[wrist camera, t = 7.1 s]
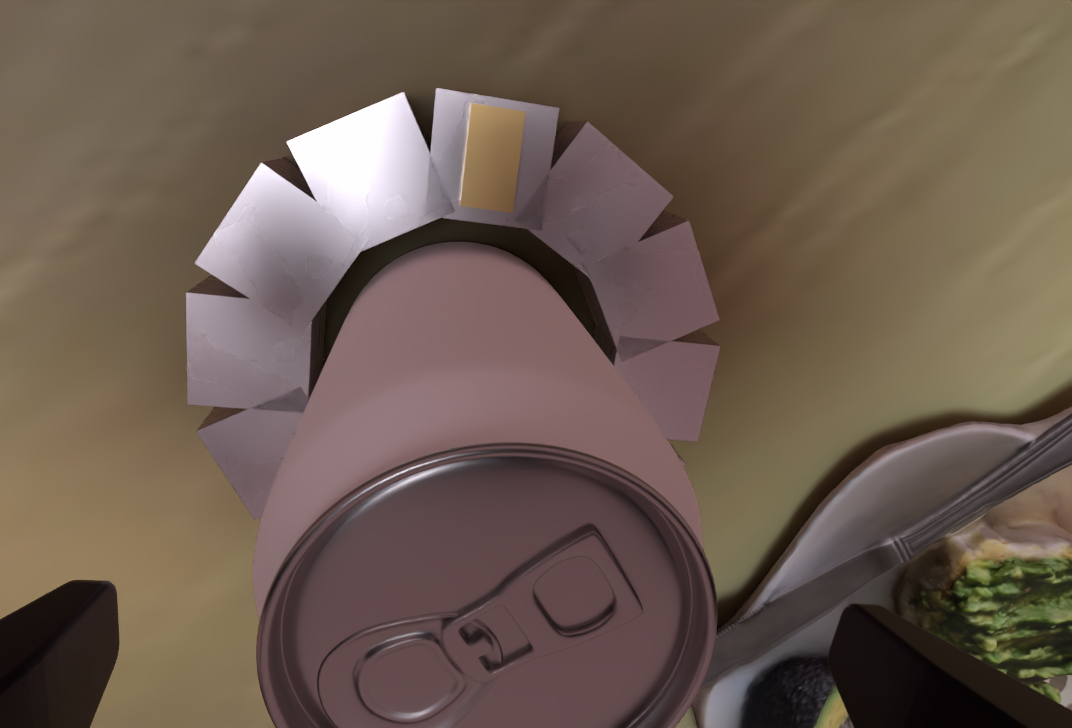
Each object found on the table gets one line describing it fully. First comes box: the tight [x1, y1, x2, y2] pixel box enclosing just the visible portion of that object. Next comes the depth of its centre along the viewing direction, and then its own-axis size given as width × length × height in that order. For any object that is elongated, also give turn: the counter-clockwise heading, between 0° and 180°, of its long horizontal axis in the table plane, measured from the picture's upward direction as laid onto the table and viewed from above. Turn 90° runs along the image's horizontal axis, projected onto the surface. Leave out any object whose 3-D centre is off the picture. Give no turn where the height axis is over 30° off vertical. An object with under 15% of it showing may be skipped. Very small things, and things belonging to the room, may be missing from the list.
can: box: [253, 242, 718, 728], centre depth 14 cm, size 6×6×12 cm
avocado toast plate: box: [691, 407, 1072, 728], centre depth 24 cm, size 19×18×5 cm
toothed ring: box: [186, 88, 720, 520], centre depth 18 cm, size 13×13×3 cm
